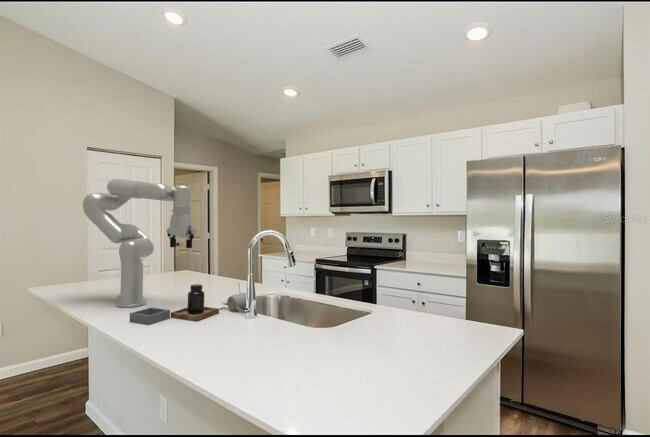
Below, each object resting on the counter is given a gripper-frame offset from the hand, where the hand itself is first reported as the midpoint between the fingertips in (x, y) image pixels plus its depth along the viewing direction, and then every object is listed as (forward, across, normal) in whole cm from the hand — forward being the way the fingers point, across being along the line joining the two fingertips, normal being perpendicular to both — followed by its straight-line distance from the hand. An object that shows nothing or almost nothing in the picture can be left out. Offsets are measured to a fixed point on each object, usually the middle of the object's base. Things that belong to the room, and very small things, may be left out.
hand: (180, 247), depth 169 cm
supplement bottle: (+27, +17, -9) cm, 33 cm away
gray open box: (+28, +5, -22) cm, 36 cm away
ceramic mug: (+29, +30, +7) cm, 42 cm away
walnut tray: (+28, +17, -9) cm, 34 cm away
